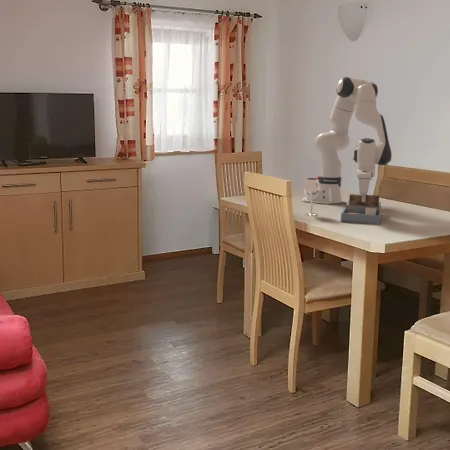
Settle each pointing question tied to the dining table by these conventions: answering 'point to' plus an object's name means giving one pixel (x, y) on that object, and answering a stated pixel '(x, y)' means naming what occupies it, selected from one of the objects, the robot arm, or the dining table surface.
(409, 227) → the dining table surface
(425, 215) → the dining table surface
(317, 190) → the wineglass
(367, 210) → the tile cream
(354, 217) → the box
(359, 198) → the scraper bar
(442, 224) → the dining table surface
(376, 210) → the grey flat block
